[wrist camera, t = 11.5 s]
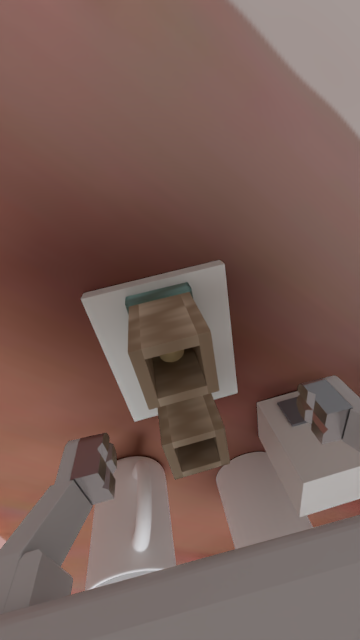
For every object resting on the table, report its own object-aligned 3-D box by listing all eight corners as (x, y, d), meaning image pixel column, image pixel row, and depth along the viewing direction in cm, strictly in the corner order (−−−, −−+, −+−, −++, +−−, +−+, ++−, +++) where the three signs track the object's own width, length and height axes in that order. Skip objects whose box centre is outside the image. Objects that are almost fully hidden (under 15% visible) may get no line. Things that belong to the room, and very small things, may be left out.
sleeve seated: (201, 361, 23) (227, 424, 17) (208, 397, 25) (232, 464, 19) (151, 374, 22) (158, 444, 16) (162, 409, 25) (172, 481, 19)
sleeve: (187, 281, 19) (214, 326, 13) (196, 333, 21) (222, 392, 15) (125, 296, 18) (122, 350, 12) (142, 347, 21) (146, 413, 15)
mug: (106, 431, 27) (94, 554, 18) (179, 433, 29) (200, 544, 20) (94, 494, 32) (80, 614, 23) (157, 491, 34) (166, 600, 25)
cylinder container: (207, 469, 33) (465, 1449, 8) (270, 442, 33) (782, 1389, 7) (226, 498, 38) (428, 1160, 12) (283, 474, 38) (616, 1113, 12)
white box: (321, 382, 29) (391, 454, 21) (316, 419, 32) (374, 494, 24) (256, 400, 28) (303, 481, 21) (258, 436, 32) (299, 517, 24)
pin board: (219, 259, 20) (252, 287, 14) (233, 384, 27) (259, 435, 21) (83, 293, 19) (64, 335, 14) (134, 412, 26) (135, 471, 21)
